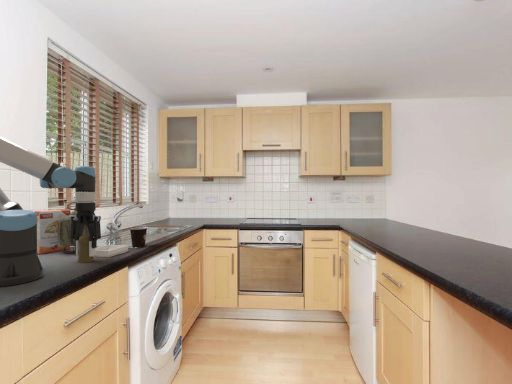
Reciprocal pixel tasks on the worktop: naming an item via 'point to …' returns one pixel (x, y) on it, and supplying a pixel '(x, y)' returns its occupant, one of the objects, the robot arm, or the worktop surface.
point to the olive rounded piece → (84, 250)
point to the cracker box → (49, 230)
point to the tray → (110, 250)
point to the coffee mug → (138, 236)
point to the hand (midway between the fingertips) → (85, 255)
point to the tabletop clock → (68, 230)
